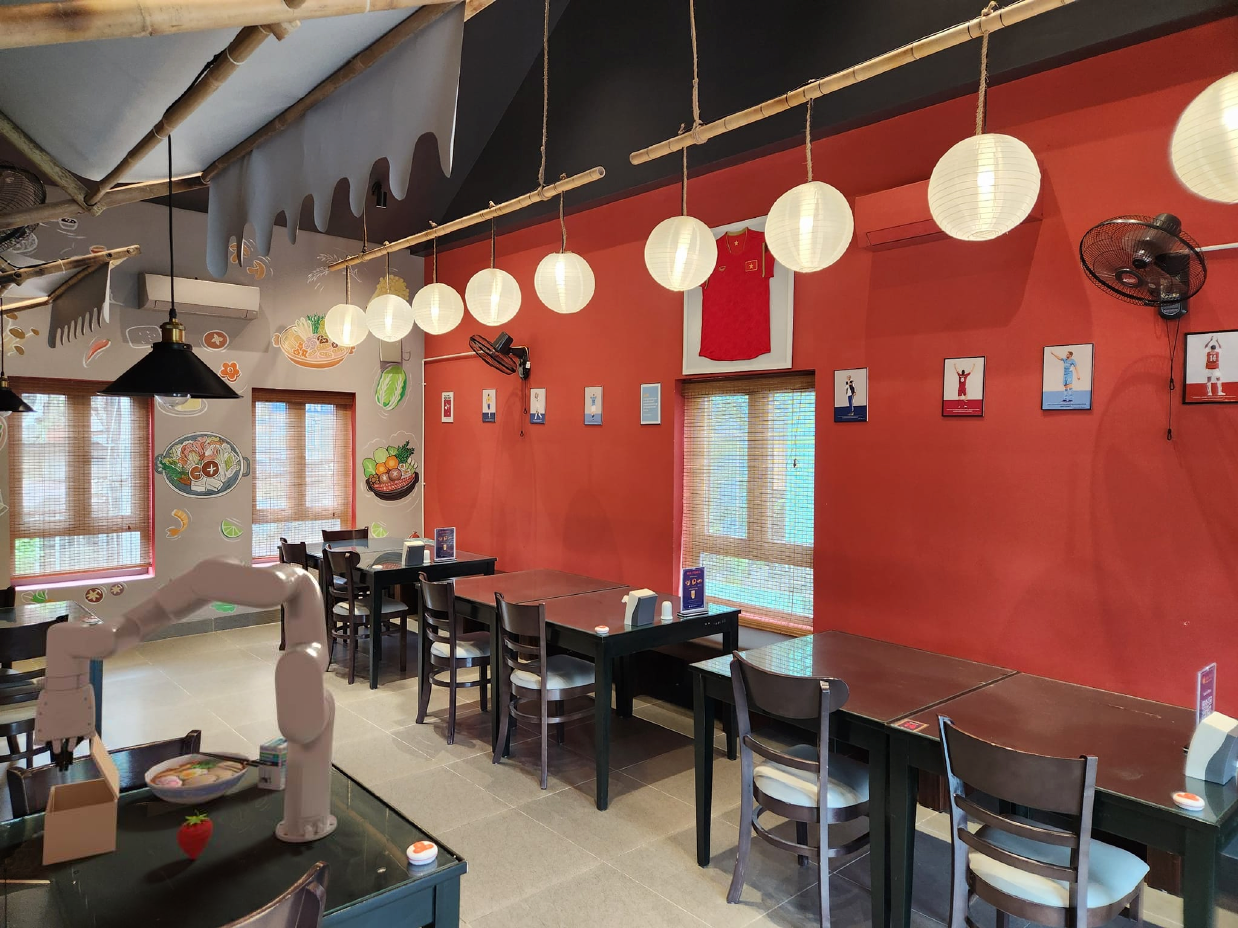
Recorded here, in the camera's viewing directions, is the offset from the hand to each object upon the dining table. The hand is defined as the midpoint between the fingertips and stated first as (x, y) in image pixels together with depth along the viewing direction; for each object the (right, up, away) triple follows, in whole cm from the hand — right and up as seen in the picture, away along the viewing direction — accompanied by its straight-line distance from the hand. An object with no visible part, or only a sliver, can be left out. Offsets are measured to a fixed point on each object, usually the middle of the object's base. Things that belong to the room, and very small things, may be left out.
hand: (63, 769), depth 157 cm
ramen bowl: (+15, -17, +24) cm, 33 cm away
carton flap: (+6, 0, +4) cm, 7 cm away
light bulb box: (+30, -18, +35) cm, 50 cm away
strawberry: (+30, -17, -4) cm, 35 cm away
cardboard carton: (+3, -16, +2) cm, 16 cm away
